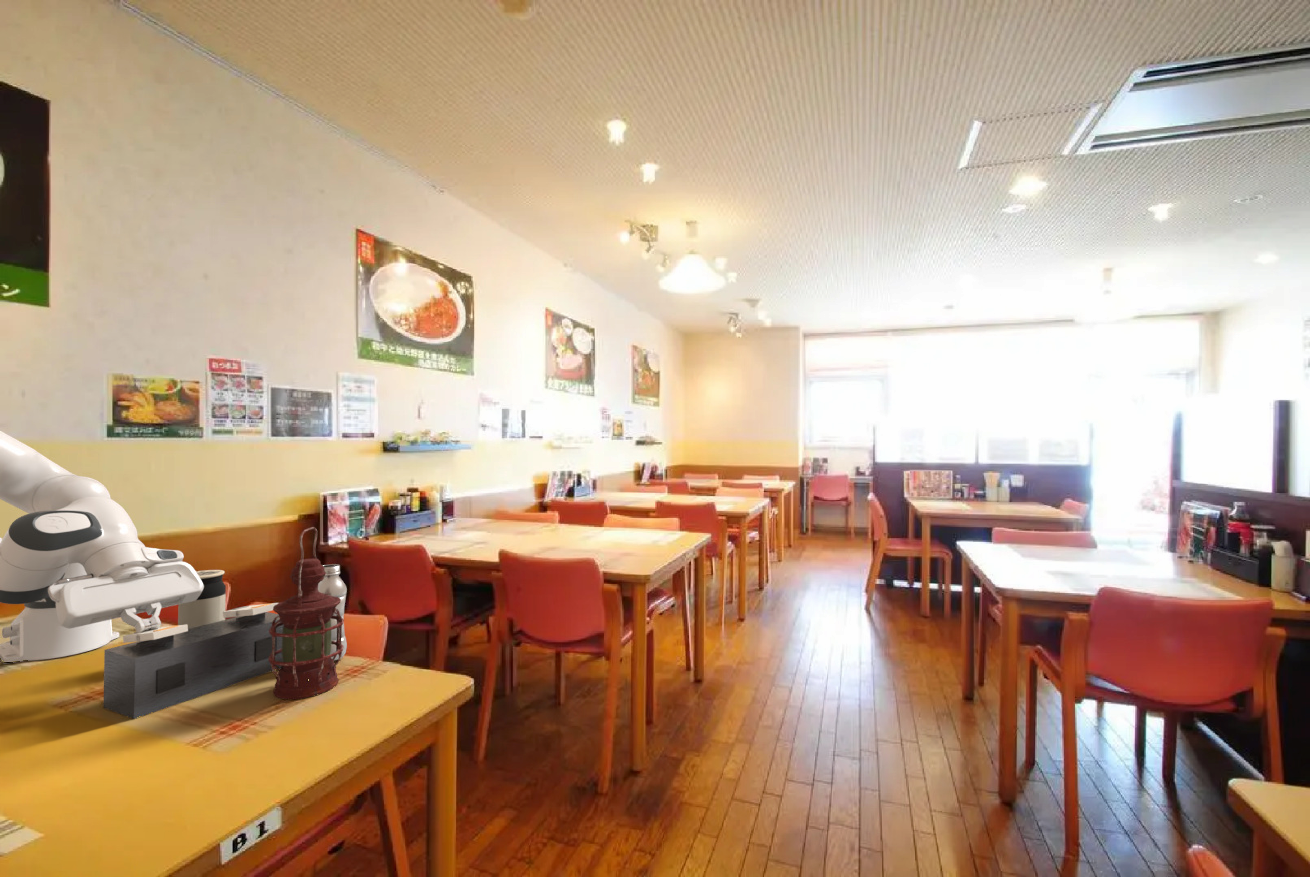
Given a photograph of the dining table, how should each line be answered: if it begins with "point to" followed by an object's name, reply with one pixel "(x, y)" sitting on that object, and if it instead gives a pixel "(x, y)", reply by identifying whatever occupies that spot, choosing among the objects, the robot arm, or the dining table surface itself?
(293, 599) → the lantern
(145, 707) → the switch box
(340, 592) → the silver tall rounded piece
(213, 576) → the travel mug
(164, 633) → the rocker on
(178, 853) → the dining table surface
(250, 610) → the block
